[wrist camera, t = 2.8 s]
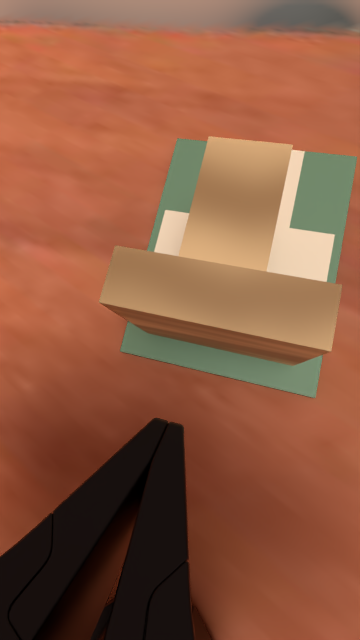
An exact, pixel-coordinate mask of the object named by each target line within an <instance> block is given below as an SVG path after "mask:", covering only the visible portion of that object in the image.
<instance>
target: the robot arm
mask: <svg viewBox="0 0 360 640" xmlns="http://www.w3.org/2000/svg"><path fill="white" fill-rule="evenodd" d="M124 560H125V561H124ZM188 560H189V550H188V525H187V499H186V474H185V449H184V427H183V425H181V424H178V423H174V422H170V423H169V422H168V421H167V420H163V419H159V418H154V419H152V420H151V421H150V422H149V423H148V424H147V425H146V426H145V427H144V428H143V429H142V430H140V431H139V432H138V433H137V434H136V435H135V436H134V437H133V438H132V439H131V440H130V441H128V442H127V443H126V444H125V445H124V446H123V447H122V448H121V449H120V450H119V451H118V452H117V453H115V454H114V455H113V456H112V457H111V458H110V459H109V460H108V461H107V462H106V463H105V464H103V465H102V466H101V467H100V468H99V469H98V470H97V471H96V472H95V473H94V474H93V475H92V476H90V477H89V478H88V479H87V480H86V481H85V482H84V483H83V484H82V485H81V486H80V487H78V488H77V489H76V490H75V491H74V492H73V493H72V494H71V495H70V496H69V497H68V498H67V499H65V500H64V501H63V502H62V503H61V504H60V505H59V506H58V507H57V508H56V509H55V510H54V511H53V513H50V514H49V515H48V516H47V517H46V518H45V519H44V520H42V521H41V522H40V523H39V524H38V525H37V526H36V527H35V528H34V529H32V530H31V531H30V532H29V533H28V534H27V535H26V536H24V537H23V538H22V539H21V540H20V541H19V542H18V543H16V544H15V545H14V546H13V547H11V548H10V549H9V550H8V551H6V552H5V553H4V554H3V555H1V556H0V640H212V639H211V637H210V635H209V633H208V631H207V629H206V627H205V625H204V623H203V621H202V619H201V617H200V615H199V613H198V612H197V610H196V608H195V606H193V605H192V604H191V590H190V571H189V562H188ZM123 563H124V565H123ZM122 565H123V568H122V572H121V576H120V580H119V583H118V587H117V591H116V595H115V598H114V599H112V600H111V601H109V602H108V603H106V602H107V600H108V597H109V595H110V593H111V590H112V588H113V586H114V583H115V581H116V579H117V576H118V574H119V572H120V570H121V567H122Z"/></svg>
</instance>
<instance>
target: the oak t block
mask: <svg viewBox="0 0 360 640" xmlns="http://www.w3.org/2000/svg"><path fill="white" fill-rule="evenodd" d="M292 147H293V145H290V144H280V143H270V142H260V141H250V140H240V139H230V138H220V137H209V138H208V142H207V145H206V149H205V153H204V157H203V161H202V165H201V169H200V173H199V177H198V181H197V185H196V189H195V193H194V197H193V201H192V204H191V208H190V212H189V216H188V220H187V224H186V228H185V232H184V236H183V240H182V244H181V248H180V252H179V256H174V255H168V254H162V253H157V252H151V251H145V250H139V249H134V248H128V247H122V246H116V245H115V248H114V251H113V255H112V258H111V262H110V265H109V269H108V272H107V275H106V279H105V282H104V286H103V289H102V293H101V296H100V300H99V303H101V304H102V305H104V306H105V307H107V308H109V309H110V310H112V311H113V312H115V313H116V314H118V315H120V316H121V317H123V318H124V319H126V320H128V321H129V322H131V323H132V324H134V325H135V326H137V327H139V328H140V329H142V330H143V331H145V332H146V333H148V334H153V335H157V336H162V337H166V338H171V339H175V340H180V341H184V342H188V343H193V344H197V345H202V346H206V347H211V348H215V349H220V350H224V351H228V352H233V353H237V354H242V355H246V356H251V357H255V358H260V359H264V360H268V361H273V362H277V363H282V364H286V365H291V366H294V365H297V364H300V363H302V362H305V361H308V360H310V359H313V358H316V357H318V356H321V355H323V354H326V353H329V352H331V350H332V344H333V338H334V332H335V326H336V320H337V314H338V309H339V303H340V297H341V291H342V285H341V284H335V283H329V282H324V281H318V280H312V279H306V278H301V277H295V276H289V275H283V274H277V273H272V272H266V271H267V266H268V262H269V257H270V252H271V247H272V242H273V238H274V233H275V228H276V223H277V218H278V214H279V209H280V204H281V199H282V194H283V190H284V185H285V180H286V175H287V171H288V166H289V161H290V156H291V151H292Z"/></svg>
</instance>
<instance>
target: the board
mask: <svg viewBox="0 0 360 640" xmlns="http://www.w3.org/2000/svg"><path fill="white" fill-rule="evenodd" d="M207 142H208V141H198V140H189V139H179V138H177V142H176V146H175V149H174V153H173V157H172V160H171V164H170V168H169V171H168V175H167V179H166V182H165V186H164V190H163V194H162V197H161V201H160V205H159V208H158V212H157V216H156V219H155V223H154V227H153V231H152V234H151V238H150V242H149V245H148V249H147V251H151V252H157V253H162V254H168V255H174V256H179V252H180V248H181V244H182V240H183V236H184V232H185V228H186V224H187V220H188V216H189V212H190V208H191V204H192V201H193V197H194V193H195V189H196V185H197V181H198V177H199V173H200V169H201V165H202V161H203V157H204V153H205V149H206V145H207ZM356 161H357V157H355V156H345V155H336V154H326V153H316V152H306V151H296V150H292V151H291V156H290V161H289V166H288V171H287V175H286V180H285V185H284V190H283V194H282V199H281V204H280V209H279V214H278V218H277V223H276V228H275V233H274V238H273V242H272V247H271V252H270V257H269V262H268V266H267V271H266V272H272V273H277V274H283V275H289V276H295V277H301V278H306V279H312V280H318V281H324V282H329V283H335V282H336V276H337V270H338V264H339V259H340V253H341V247H342V241H343V236H344V230H345V224H346V218H347V213H348V207H349V201H350V195H351V190H352V184H353V178H354V172H355V167H356ZM120 351H121V352H125V353H129V354H133V355H137V356H141V357H145V358H150V359H154V360H158V361H162V362H166V363H170V364H175V365H179V366H183V367H187V368H191V369H195V370H200V371H204V372H208V373H212V374H216V375H220V376H225V377H229V378H233V379H237V380H241V381H245V382H249V383H254V384H258V385H262V386H266V387H270V388H274V389H279V390H283V391H287V392H291V393H295V394H299V395H304V396H308V397H312V398H315V397H316V391H317V385H318V380H319V374H320V368H321V362H322V357H323V355H321V356H318V357H316V358H313V359H310V360H308V361H305V362H302V363H300V364H297V365H294V366H291V365H286V364H282V363H277V362H273V361H268V360H264V359H260V358H255V357H251V356H246V355H242V354H237V353H233V352H228V351H224V350H220V349H215V348H211V347H206V346H202V345H197V344H193V343H188V342H184V341H180V340H175V339H171V338H166V337H162V336H157V335H153V334H148V333H146V332H145V331H143V330H142V329H140V328H139V327H137V326H135V325H134V324H132V323H131V322H129V321H128V323H127V327H126V330H125V334H124V338H123V341H122V345H121V349H120Z"/></svg>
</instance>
